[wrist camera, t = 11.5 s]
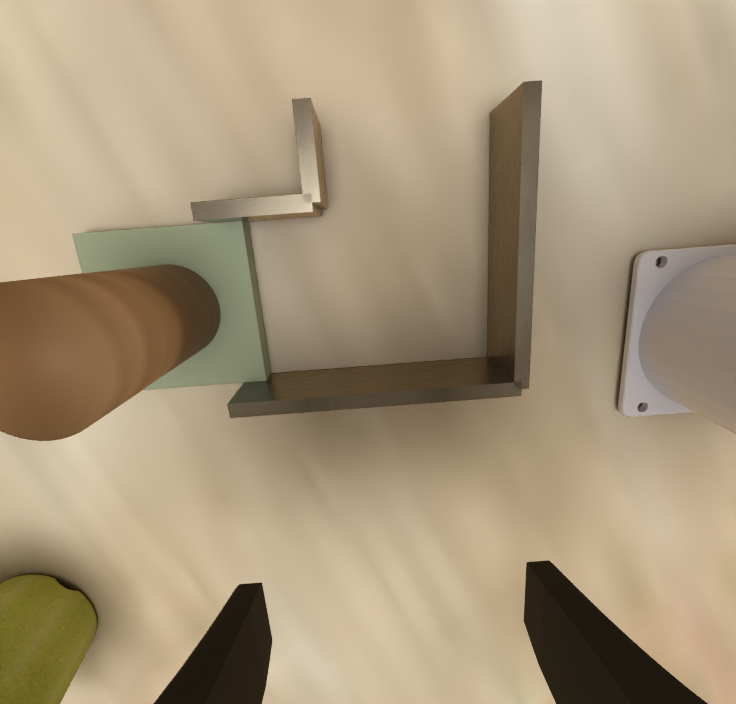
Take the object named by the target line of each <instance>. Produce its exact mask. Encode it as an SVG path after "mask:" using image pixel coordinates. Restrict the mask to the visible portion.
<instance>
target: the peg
mask: <svg viewBox="0 0 736 704" xmlns="http://www.w3.org/2000/svg"><path fill="white" fill-rule="evenodd" d="M219 325H220V306H219V302H218V299H217V297H216V295H215V293H214V291H213V289H212V288H211V286H210V285H209V284H208V283H207V282H206V281H205V280H204V279H203V278H202V277H201V276H200V275H198V274H197V273H196V272H194V271H192V270H190V269H188V268H185V267H183V266H178V265H172V264H163V265H154V266H145V267H136V268H127V269H118V270H109V271H100V272H91V273H82V274H73V275H64V276H55V277H46V278H37V279H28V280H19V281H10V282H1V283H0V431H2V432H4V433H6V434H9V435H12V436H15V437H18V438H23V439H28V440H37V441H51V440H58V439H63V438H66V437H70V436H72V435H75V434H77V433H79V432H81V431H82V430H84V429H86V428H87V427H89V426H90V425H92V424H93V423H95V422H96V421H98V420H99V419H101V418H102V417H103V416H105V415H106V414H108V413H109V412H111V411H112V410H114V409H115V408H117V407H118V406H120V405H121V404H123V403H124V402H126V401H127V400H128V399H130V398H131V397H133V396H134V395H136V394H137V393H139V392H140V391H142V390H143V389H145V388H146V387H148V386H149V385H151V384H152V383H153V382H155V381H156V380H158V379H159V378H161V377H162V376H164V375H165V374H167V373H168V372H170V371H171V370H173V369H174V368H176V367H177V366H178V365H180V364H181V363H183V362H184V361H186V360H187V359H189V358H190V357H192V356H193V355H195V354H196V353H198V352H199V351H201V350H202V349H203V348H205V347H206V346H207V345H208V344H209V343H210V342H211V341H212V340H213V338H214V337H215V335H216V333H217V331H218V328H219Z"/></svg>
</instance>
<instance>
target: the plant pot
mask: <svg viewBox="0 0 736 704" xmlns="http://www.w3.org/2000/svg"><path fill="white" fill-rule="evenodd" d="M96 628H97V619H96V615H95V612H94V610H93V607H92V605H91V604H90V602H89V601H88V600H87V598H86V597H85V596H84V595H83V594H82V593H81V592H79V591H74V590H69V589H67V588H65V587H63V586H62V585H60V584H59V583H58V582H57V581H56V579H55V578H53V577H49V576H45V575H31V574H30V575H22V576H17V577H13V578H10V579H8V580H6V581H4V582H2V583H1V584H0V704H60V703H61V701H62V699H63V697H64V695H65V693H66V691H67V689H68V687H69V685H70V683H71V681H72V679H73V677H74V675H75V673H76V671H77V670H78V668H79V666H80V664H81V662H82V660H83V658H84V656H85V654H86V652H87V650H88V648H89V646H90V644H91V642H92V640H93V638H94V636H95V633H96Z"/></svg>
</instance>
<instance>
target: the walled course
mask: <svg viewBox="0 0 736 704" xmlns="http://www.w3.org/2000/svg"><path fill="white" fill-rule="evenodd" d="M541 94H542V81H529V82H523V83H522V84H521V85H520V86H519V87H518V88H517V89H516V90H515V91H513V92H512V93H511V94H510V95H509V96H508V97H507V98H506V99H505V100H504V101H503V102H502V103H501V104H500V105H498V106H497V107H496V108H495V109H494V110H493V111H492V112H491V113H490V164H489V252H488V341H487V357H482V358H469V359H456V360H443V361H429V362H416V363H403V364H390V365H377V366H364V367H350V368H337V369H324V370H311V371H298V372H285V373H271V374H270V376H269V377H268V379H267V380H266V381H256V382H244V384H243V385H242V386H241V388H240V389H239V390H238V391H237V393H236V394H235V395H234V397H233V398H232V399H231V400H230V402H229V403H228V410H229V415H230V418H236V417H250V416H263V415H276V414H289V413H302V412H315V411H328V410H342V409H355V408H368V407H381V406H394V405H407V404H420V403H434V402H447V401H460V400H473V399H486V398H499V397H512V396H521V389H527V388H529V375H530V352H531V328H532V305H533V281H534V258H535V234H536V211H537V188H538V164H539V141H540V117H541ZM292 103H293V112H294V122H295V131H296V140H297V149H298V158H299V167H300V176H301V185H302V194H295V195H282V196H269V197H255V198H242V199H229V200H215V201H202V202H190V203H191V209H192V214H193V220H194V221H204V222H215V223H221V222H235V221H246V222H252V221H265V220H279V219H292V218H305V217H318V216H322V213H321V209H327V208H328V204H327V193H326V182H325V172H324V161H323V151H322V140H321V129H320V124H319V121H318V118H317V115H316V113H315V110H314V107H313V104H312V101H311V98H302V99H292Z"/></svg>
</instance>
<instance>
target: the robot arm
mask: <svg viewBox="0 0 736 704" xmlns="http://www.w3.org/2000/svg"><path fill="white" fill-rule="evenodd" d="M658 257H660V258H661V262H660V264H659V265H658V266H656V260H657V258H658ZM640 403H643V404H642V406H641V407H640V408H639V409H637V407H638V405H639V404H640ZM618 410H619V411H620V413H622V414H623V415H625V416H627V417H638V416H651V415H664V414H677V413H690V412H695V413H697V414H699V415H701V416H703V417H705V418H707V419H709V420H711V421H713V422H715V423H716V424H718V425H720V426H722V427H724V428H726V429H728V430H730V431H732V432H734V433H736V244H730V245H717V246H703V247H690V248H677V249H664V250H650V251H644V252H641V253H640V254H638V255H637V257H636V258H635V261H634V266H633V275H632V284H631V293H630V302H629V311H628V320H627V329H626V338H625V347H624V356H623V365H622V375H621V384H620V393H619V402H618ZM524 623H525V626H526V629H527V632H528V635H529V638H530V641H531V644H532V647H533V649H534V652H535V655H536V658H537V661H538V664H539V666H540V668H541V671H542V673H543V675H544V677H545V680H546V682H547V684H548V686H549V689H550V691H551V693H552V695H553V697H554V700H555V702H556V704H707V703H706V702H705V701H704V700H702V699H701V698H700V697H698V696H697V695H696V694H695V693H693V692H692V691H691V690H689V689H688V688H687V687H686V686H685V685H683V684H682V683H681V682H680V681H678V680H677V679H676V678H675V677H674V676H672V675H671V674H670V673H669V672H668V671H666V670H665V669H664V668H663V667H662V666H661V665H660V664H658V663H657V662H656V661H655V660H654V659H653V658H651V657H650V656H649V655H648V654H647V653H646V652H644V651H643V650H642V649H641V648H640V647H639V646H638V645H637V644H636V643H634V642H633V641H632V640H631V639H630V638H629V637H628V636H627V635H626V634H625V633H623V632H622V631H621V630H620V629H619V628H618V627H617V626H616V625H615V624H614V623H613V622H612V621H611V620H609V619H608V618H607V617H606V616H605V615H604V614H603V613H602V612H601V611H600V610H599V609H598V608H597V607H596V606H595V605H594V604H593V603H592V602H591V601H590V600H589V599H588V598H587V597H586V596H585V595H584V594H583V593H582V592H580V591H579V590H578V589H577V588H576V587H575V586H574V585H573V584H572V583H571V582H570V581H569V580H568V579H567V578H566V577H565V576H564V575H563V574H562V573H561V572H560V571H559V570H558V569H557V568H556V567H555V566H554V565H553V564H552V563H551V562H550V561H537V562H527V566H526V587H525V608H524ZM271 646H272V636H271V630H270V625H269V619H268V614H267V608H266V603H265V597H264V592H263V587H262V583H251V584H239V585H238V586H237V588H236V589H235V590H234V592H233V593H232V595H231V596H230V598H229V600H228V601H227V603H226V604H225V606H224V607H223V609H222V610H221V612H220V613H219V615H218V616H217V618H216V619H215V621H214V622H213V624H212V625H211V626H210V628H209V629H208V631H207V632H206V634H205V635H204V637H203V638H202V640H201V641H200V642H199V644H198V645H197V647H196V648H195V649H194V651H193V652H192V654H191V655H190V656H189V658H188V659H187V660H186V662H185V663H184V665H183V666H182V667H181V669H180V670H179V671H178V673H177V674H176V675H175V677H174V678H173V679H172V681H171V682H170V683H169V684H168V686H167V687H166V688H165V690H164V691H163V692H162V694H161V695H160V696H159V697H158V699H157V700H156V701H155V703H154V704H262V700H263V696H264V691H265V687H266V681H267V674H268V668H269V661H270V654H271Z"/></svg>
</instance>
